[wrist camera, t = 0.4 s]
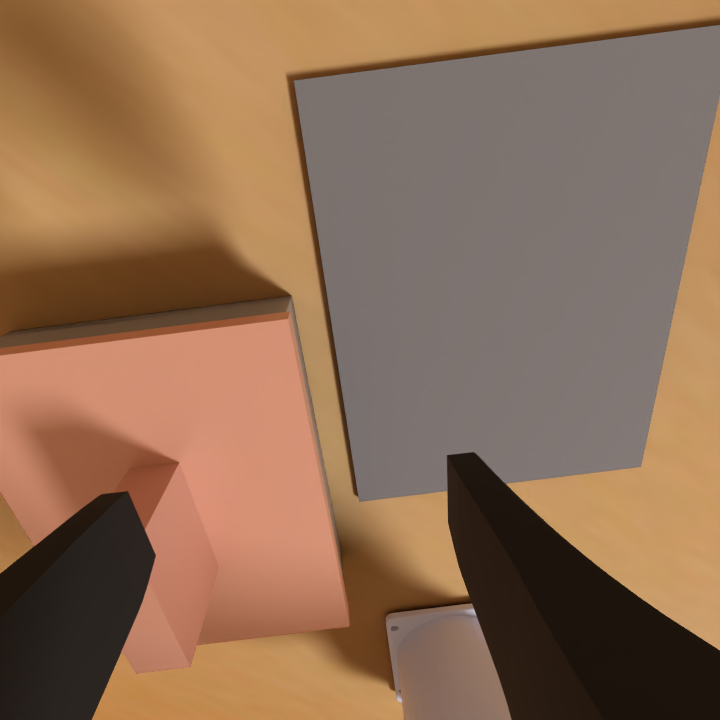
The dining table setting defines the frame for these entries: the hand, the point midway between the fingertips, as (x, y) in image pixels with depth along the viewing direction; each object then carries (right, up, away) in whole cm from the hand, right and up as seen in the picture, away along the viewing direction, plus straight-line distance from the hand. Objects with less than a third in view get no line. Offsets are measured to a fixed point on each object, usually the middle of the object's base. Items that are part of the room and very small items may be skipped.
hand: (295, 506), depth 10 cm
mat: (+8, +5, +9) cm, 13 cm away
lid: (-6, -3, +9) cm, 11 cm away
